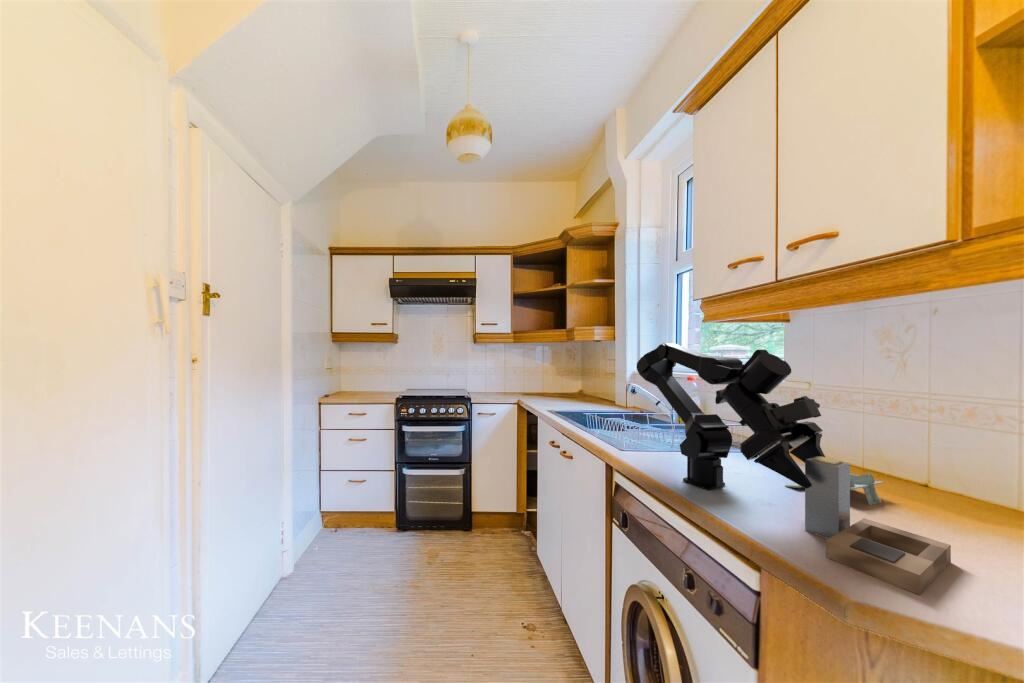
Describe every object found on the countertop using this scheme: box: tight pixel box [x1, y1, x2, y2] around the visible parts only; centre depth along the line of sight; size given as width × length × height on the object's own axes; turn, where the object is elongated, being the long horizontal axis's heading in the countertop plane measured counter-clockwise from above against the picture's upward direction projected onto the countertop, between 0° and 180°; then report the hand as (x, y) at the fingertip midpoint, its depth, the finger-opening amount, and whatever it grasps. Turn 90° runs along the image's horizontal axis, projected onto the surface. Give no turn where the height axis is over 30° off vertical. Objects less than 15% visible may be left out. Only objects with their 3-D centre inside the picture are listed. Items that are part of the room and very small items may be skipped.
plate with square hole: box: [825, 518, 952, 596], centre depth 54 cm, size 10×15×3 cm, turn 120°
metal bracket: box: [784, 472, 885, 506], centre depth 80 cm, size 14×6×15 cm
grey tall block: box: [804, 456, 851, 539], centre depth 61 cm, size 4×4×12 cm
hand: (822, 482), depth 62 cm, fingers open, 9 cm apart
